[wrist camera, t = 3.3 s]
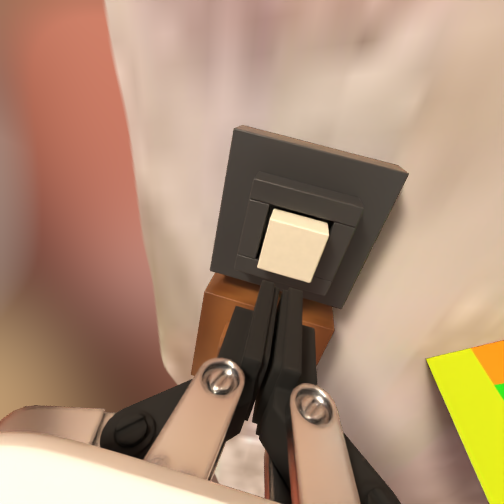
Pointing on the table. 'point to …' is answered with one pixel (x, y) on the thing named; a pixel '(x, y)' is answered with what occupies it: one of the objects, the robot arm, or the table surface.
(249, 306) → the block walnut
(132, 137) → the table surface
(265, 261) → the key ivory
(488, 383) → the puzzle toy
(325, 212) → the block black
